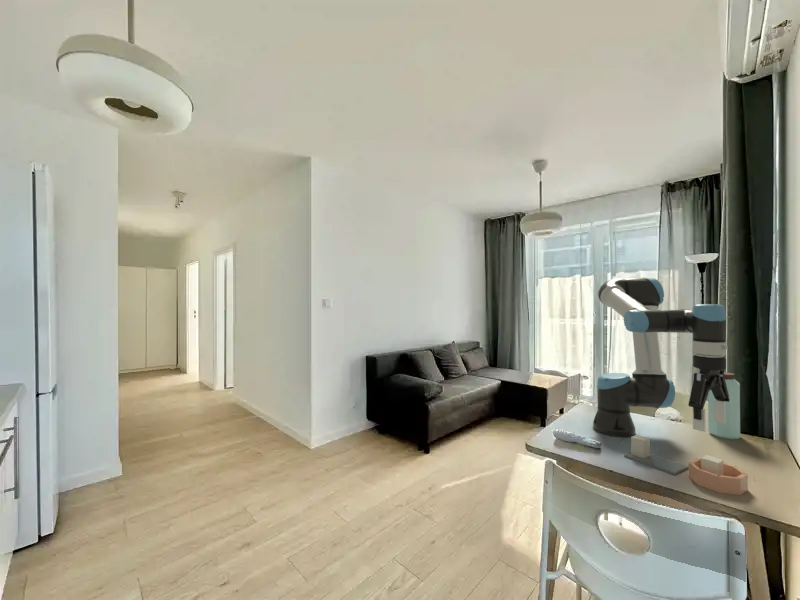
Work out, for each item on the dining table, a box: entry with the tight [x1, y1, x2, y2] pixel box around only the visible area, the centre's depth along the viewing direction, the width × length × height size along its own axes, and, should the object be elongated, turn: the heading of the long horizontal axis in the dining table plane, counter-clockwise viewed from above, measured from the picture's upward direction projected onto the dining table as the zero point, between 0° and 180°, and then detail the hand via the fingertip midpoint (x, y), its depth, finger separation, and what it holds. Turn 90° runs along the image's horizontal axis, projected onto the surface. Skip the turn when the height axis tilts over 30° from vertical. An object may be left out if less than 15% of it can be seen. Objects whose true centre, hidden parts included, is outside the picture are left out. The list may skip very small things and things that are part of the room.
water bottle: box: [707, 371, 741, 440], centre depth 140 cm, size 10×10×25 cm
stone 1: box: [630, 434, 651, 458], centre depth 122 cm, size 4×4×6 cm
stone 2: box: [700, 454, 725, 476], centre depth 105 cm, size 4×4×6 cm
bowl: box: [688, 458, 749, 496], centre depth 105 cm, size 12×12×4 cm
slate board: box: [623, 451, 689, 476], centre depth 118 cm, size 15×9×1 cm, turn 29°
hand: (709, 426), depth 106 cm, fingers open, 13 cm apart
